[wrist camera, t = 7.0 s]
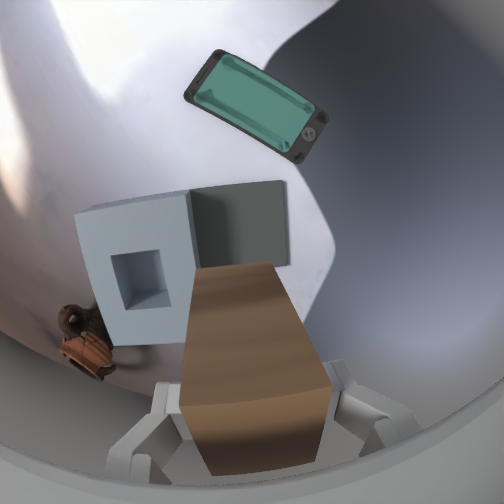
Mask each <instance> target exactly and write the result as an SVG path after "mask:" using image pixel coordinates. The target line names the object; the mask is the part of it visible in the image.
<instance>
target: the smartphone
mask: <svg viewBox="0 0 504 504" xmlns="http://www.w3.org/2000/svg"><path fill="white" fill-rule="evenodd" d="M183 96H184V99H185V100H186V101H187V102H189V103H191V104H193V105H195V106H197V107H199V108H201V109H202V110H204V111H206V112H208V113H210V114H212V115H214V116H216V117H217V118H219V119H221V120H223V121H225V122H227V123H228V124H230V125H232V126H234V127H235V128H237V129H239V130H241V131H242V132H244V133H246V134H248V135H249V136H251V137H253V138H254V139H256V140H258V141H259V142H261V143H263V144H264V145H266V146H267V147H269V148H271V149H272V150H274V151H275V152H277V153H279V154H280V155H282V156H283V157H285V158H286V159H288V160H289V161H291V162H292V163H294V164H300V163H302V162H303V160H304V159H305V157H306V156H307V154H308V153H309V151H310V149H311V148H312V146H313V145H314V143H315V141H316V140H317V138H318V136H319V135H320V133H321V132H322V130H323V129H324V127H325V125H326V124H327V122H328V121H329V116H328V114H327V113H326V112H324V111H323V110H322V109H320V108H319V107H318V106H316V105H315V104H313V103H312V102H310V101H309V100H308V99H306V98H305V97H303V96H302V95H300V94H299V93H297V92H296V91H294V90H293V89H291V88H289V87H288V86H286V85H285V84H283V83H282V82H280V81H279V80H278V79H276V78H275V77H273V76H271V75H269V74H268V73H266V72H265V71H263V70H260V69H258V67H256V66H254V65H252V64H250V63H249V62H246V61H245V60H243V59H241V58H239V57H237V56H235V55H232V54H230V53H228V52H226V51H224V50H222V49H218V50H215V51H214V52H213V53H212V55H211V56H210V57H209V59H208V60H207V61H206V63H205V64H204V65H203V67H202V68H201V69H200V71H199V72H198V74H197V75H196V76H195V78H194V79H193V81H192V82H191V83H190V85H189V86H188V88H187V89H186V91H185V92H184V95H183Z"/></svg>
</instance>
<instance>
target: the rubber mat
mask: <svg viewBox="0 0 504 504" xmlns="http://www.w3.org/2000/svg"><path fill="white" fill-rule="evenodd" d="M190 195H191V203H192V210H193V218H194V225H195V232H196V239H197V246H198V253H199V259H200V265H201V268H209V267H218V266H227V265H237V264H246V263H255V262H264V261H271V263H272V265H273V267H280V266H287V261H286V237H285V217H284V199H283V183H282V180H276V181H263V182H252V183H241V184H232V185H222V186H214V187H205V188H197V189H190Z"/></svg>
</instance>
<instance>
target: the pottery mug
mask: <svg viewBox="0 0 504 504" xmlns="http://www.w3.org/2000/svg"><path fill="white" fill-rule="evenodd" d="M71 315H74V318H73V319H72V321H70V322H69V318H70V316H71ZM58 324H59V327H60V328H61V330H62V331H63V332H64V336H65V337H64V338H63V340H62V342H63V345H62V347H61V348H59V351H60V352H61V354H62V355H63V356H64V357H66V355H67V356H69V357H70V360H69V362H70V363H71V364H72V365H74V366H75V367H76V368H78V369H79V370H80V371H82V372H83V373H85V374H86V375H88V376H89V377H91V378H93V379H95V380H97V381H100V382H102V381H103V380H104V376H106V375H109V374H111V373H112V372H113V371H115V370H116V365H112V366H111V367H102V366H104V365H106V364H108V363H109V362H111V359H112V352H111V350H112V349H113V346H114V345H113V343H112V340H111V338H110V336H109V333H108V331H107V328H106V325H105V323H104V320H103V317H102V315H101V312H100V309H99V308H98V309H97V310H96V311H95V312H93V313H92V314H91V315H90V312H89V310H87V309H83V308H81V307H79V306H78V305H67V306H65V307H62V309H61V311H60V312H59V315H58ZM83 331H87V332H86V337H85V338H84V337H83V336H80V335H81V332H83ZM121 346H123V345H121Z"/></svg>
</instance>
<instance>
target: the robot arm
mask: <svg viewBox="0 0 504 504" xmlns="http://www.w3.org/2000/svg"><path fill="white" fill-rule="evenodd" d="M322 364H323V367H324V369H325V371H326V373H327V375H328V377H329V379H330V381H331V383H332V385H333V387H332V392H331V397H330V402H329V406H328V411H327V415H326V420H325V421H329V420H333V419H334V420H335V421H336V422H337V423H339V424H340V425H342V426H343V427H344V428H346V429H347V430H349V431H350V432H351V433H353V434H354V435H356V436H357V437H359V438H360V439H362V440H363V441H365V444H364V446H363V448H362V450H361V452H360V453H359V458H357V459H354V460H351V461H348V462H345V463H341V464H338V465H335V466H331V467H328V468H324V469H320V470H316V471H312V472H308V473H303V474H299V475H295V476H289V477H284V478H278V479H272V480H265V481H258V482H249V483H239V484H226V485H200V486H198V485H197V486H196V485H195V486H194V485H189V486H188V485H172V482H171V481H170V480H169V478H168V477H167V476H166V475H165V474H164V473H163V472H162V469H163V468H164V466H165V465H166V463H167V462H168V461H169V459H170V458H171V457H172V455H173V454H174V452H175V451H176V450H177V448H178V447H179V445H180V444H181V442H182V440H193V438H192V435H191V433H190V431H189V429H188V427H187V425H186V422H185V420H184V418H183V416H182V413H181V411H180V409H179V395H180V385H181V382H157V384H156V387H155V392H154V397H153V403H152V409H151V414H146V415H145V416H144V417H143V418H142V419H141V420H140V421H139V422H138V423H137V424H136V425H135V426H134V427H133V428H132V429H131V430H130V431H129V432H128V433H127V434H125V435H124V436H123V437H122V438H121V439H120V440H119V441H118V442H117V443H116V444H115V445H114V446H113V447H112V448H110V450H109V454H108V459H107V463H106V468H105V473H104V477H103V476H98V475H94V474H90V473H85V472H81V471H78V470H73V469H70V468H66V467H63V466H60V465H57V464H54V463H51V462H48V461H45V460H42V459H40V458H37V457H34V456H32V455H29V454H26V453H24V452H22V451H19V450H17V449H15V448H13V447H10V446H8V445H6V444H4V443H2V442H0V504H504V377H503V378H502V379H501V380H499V381H498V382H497V383H495V384H494V385H493V386H492V387H490V388H489V389H488V390H486V391H485V392H484V393H482V394H481V395H479V396H478V397H477V398H475V399H474V400H472V401H471V402H469V403H468V404H467V405H465V406H463V407H462V408H460V409H459V410H457V411H456V412H454V413H452V414H451V415H449V416H448V417H446V418H444V419H443V420H441V421H439V422H437V423H435V424H434V425H432V426H430V427H428V428H426V429H423V428H422V427H421V425H420V424H419V422H418V420H417V419H416V417H415V416H414V414H413V413H412V411H411V410H410V408H409V407H407V406H404V405H402V404H400V403H398V402H396V401H393V400H391V399H389V398H387V397H385V396H383V395H381V394H378V393H376V392H374V391H372V390H370V389H368V388H366V387H364V386H362V385H361V386H358V385H357V383H356V381H355V380H354V378H353V376H352V375H351V373H350V371H349V370H348V368H347V366H346V365H345V363H344V361H343V360H342V359H339V360H334V361H330V362H325V363H322Z"/></svg>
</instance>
